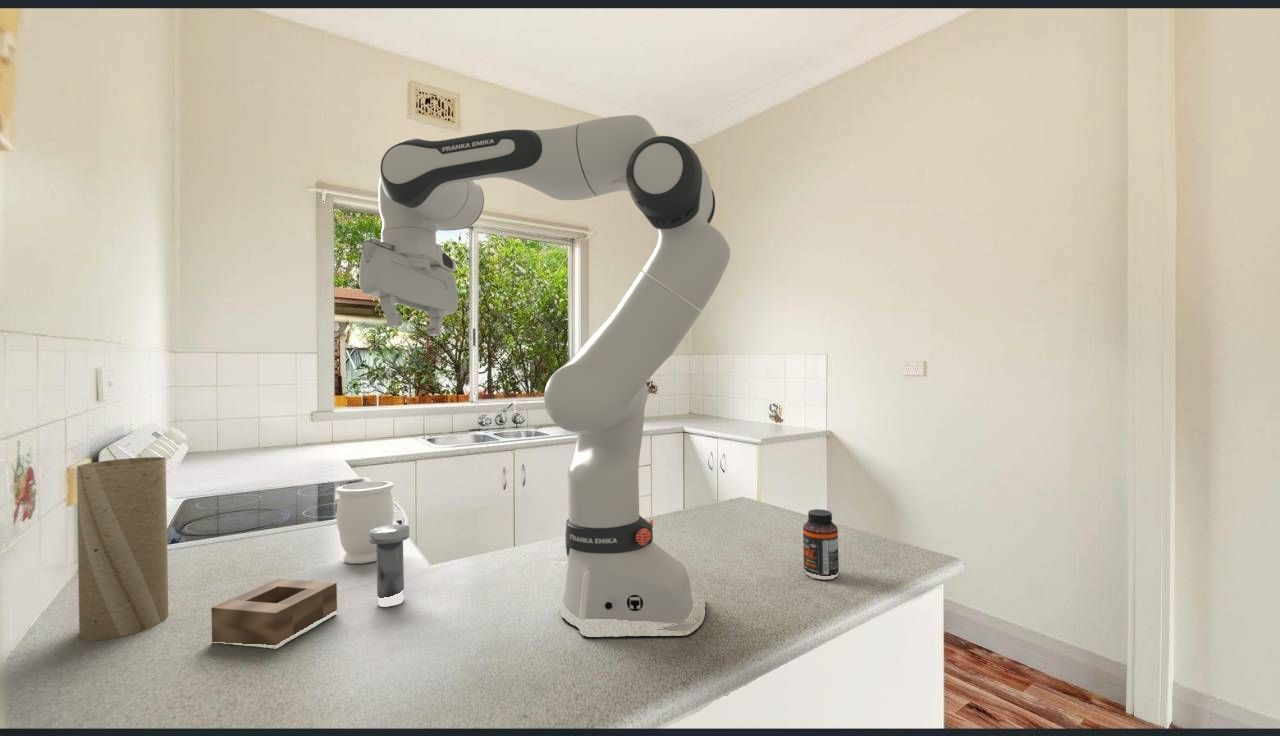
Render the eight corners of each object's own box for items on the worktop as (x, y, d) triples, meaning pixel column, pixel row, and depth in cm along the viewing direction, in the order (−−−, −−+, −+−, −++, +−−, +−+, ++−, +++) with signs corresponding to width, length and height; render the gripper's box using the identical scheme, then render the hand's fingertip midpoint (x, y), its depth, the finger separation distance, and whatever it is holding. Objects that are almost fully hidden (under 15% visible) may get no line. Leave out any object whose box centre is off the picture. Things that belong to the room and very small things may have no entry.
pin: (418, 596, 92) (416, 525, 93) (395, 611, 87) (393, 535, 87) (387, 594, 94) (385, 523, 94) (362, 609, 88) (360, 534, 88)
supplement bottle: (796, 572, 99) (795, 510, 99) (822, 567, 101) (820, 506, 102) (820, 584, 94) (818, 517, 94) (846, 577, 96) (844, 513, 96)
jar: (404, 550, 118) (403, 480, 118) (376, 567, 107) (375, 490, 108) (357, 549, 119) (356, 480, 119) (325, 566, 108) (324, 490, 109)
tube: (102, 617, 87) (100, 460, 87) (179, 606, 91) (177, 455, 91) (62, 646, 78) (60, 470, 78) (150, 632, 81) (147, 464, 82)
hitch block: (337, 614, 86) (336, 582, 86) (276, 649, 75) (275, 613, 75) (278, 609, 88) (278, 578, 88) (212, 643, 78) (211, 607, 78)
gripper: (379, 228, 84) (384, 316, 82) (461, 265, 103) (467, 336, 101) (346, 238, 86) (351, 323, 84) (433, 272, 105) (438, 342, 103)
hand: (415, 331), depth 93 cm, fingers open, 8 cm apart
